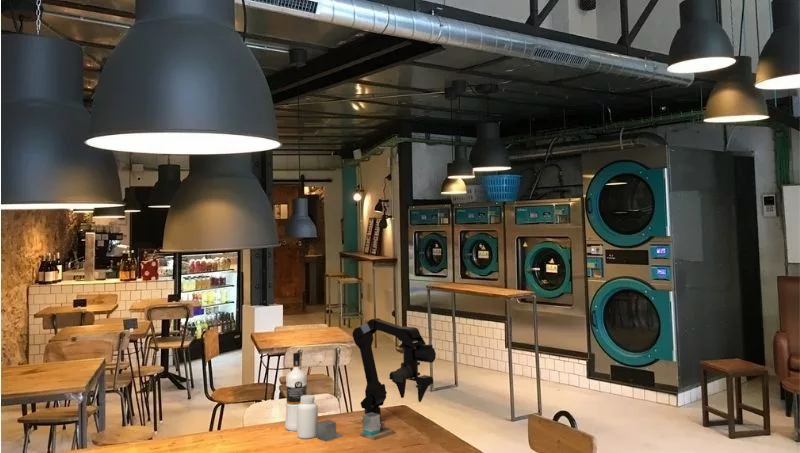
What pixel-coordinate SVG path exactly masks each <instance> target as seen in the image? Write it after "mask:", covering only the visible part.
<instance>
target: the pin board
mask: <svg viewBox="0 0 800 453" xmlns="http://www.w3.org/2000/svg"><path fill="white" fill-rule="evenodd" d="M385 423H386V422H385V421H384V420H383V421H381V422H380V433H378V434H375V435H372V436H370V435H367V434H364V433H363V431H360V432H359V437H363V438H367V439H369V440H372V441H376V440H379V439H381V438H385V437H387V436H391V435H393V434H395V429H392V428H388V427H386V424H385Z"/></svg>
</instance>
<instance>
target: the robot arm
mask: <svg viewBox="0 0 800 453" xmlns="http://www.w3.org/2000/svg"><path fill="white" fill-rule="evenodd" d="M377 331H380V332H383V333H385V334H388V335H390V336H394V337H396V338H397V339H398V341H400V342H401V344H400V345H398V348H400V349H403V350H402V352H403V353H402V355H403V357H402V358H403V361H402V362H401V363H400V367H399V368H397V369H396V370H395V371H394V370H393V371H390V373H389V375H388V376H389V380H391V382H393V383H394V384H395V385H396V386H397V390H398V392H399V395H400V398H401V399H403V398H404V397H405V393H406V385H407V384H406V383H407V381H412V382H415V383H416V384H415V387H416V389H417V400H418V403H421V402H422V401H423V398H424V396H425V394H426V391H427V390H428V388H429V386H431V385H432V384H434V378H433V376H431V375H426V374H423V375H421V372H419V366H421V362H423V363H430V364H432V363H433V362H435V361H436V360H435V359H436V356H437V355H436V354H437V352H436V351H435V349H434V347H433V346H434V345H433V344H426V342H425V340H424V338H423V336H422V335H421V333H420V330H419V329H418V328H417V327H413V326H401V325H399V324H395V323H391V322H390V321H386V320H383V319H380V318H378V317H377V318H371V319H369V320H368V321H367V322H365V323H364V324H362V325H360V326H358V327H356V328H354V329H353V331H352V338H353V341H354V343H355V345H356V346H357V348H359V351H360V355H361V361H362V366H363V370H364V375H365V379H366V385H365V386H366V387H365V390H364V392H365V393H364V394H365V397H364V398H363V399H362V400H361V402H360V407H361V408H362V409H364V414H367V413H370V412H373V413H376V414H380V423H381V421H384V420H383V419H382V417H381V416H382V415H381V414H382V411H381V407H382V406H383V405H384V402H385V401H386V399H387V394H388V392H387V390H386V385H385V383H381V382H380V380H379V376H378V372H377V368H376V362H375V357H374V353H373V349H372V345H373V341H374V335H375V333H377ZM361 423H363V419H362V420H361Z"/></svg>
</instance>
